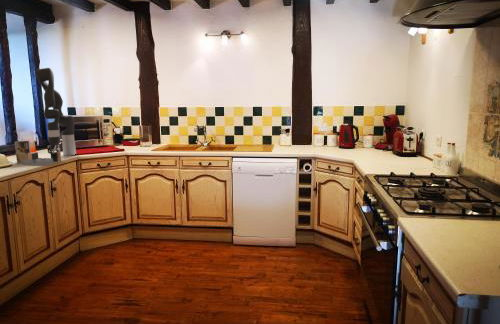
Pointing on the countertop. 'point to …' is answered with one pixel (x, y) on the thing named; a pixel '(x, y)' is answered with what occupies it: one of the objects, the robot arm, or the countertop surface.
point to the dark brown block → (57, 157)
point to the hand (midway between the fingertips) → (55, 157)
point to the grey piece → (37, 160)
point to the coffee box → (22, 150)
